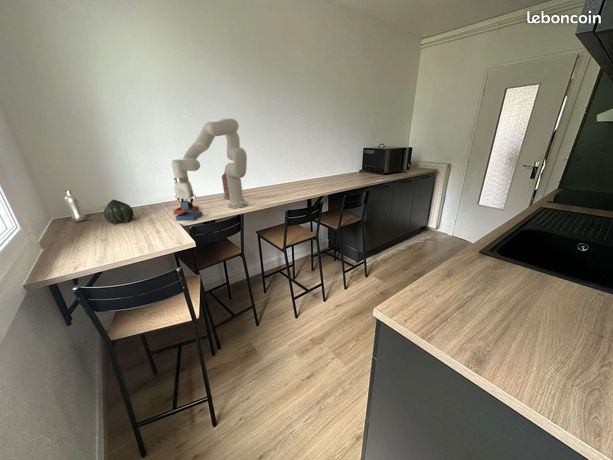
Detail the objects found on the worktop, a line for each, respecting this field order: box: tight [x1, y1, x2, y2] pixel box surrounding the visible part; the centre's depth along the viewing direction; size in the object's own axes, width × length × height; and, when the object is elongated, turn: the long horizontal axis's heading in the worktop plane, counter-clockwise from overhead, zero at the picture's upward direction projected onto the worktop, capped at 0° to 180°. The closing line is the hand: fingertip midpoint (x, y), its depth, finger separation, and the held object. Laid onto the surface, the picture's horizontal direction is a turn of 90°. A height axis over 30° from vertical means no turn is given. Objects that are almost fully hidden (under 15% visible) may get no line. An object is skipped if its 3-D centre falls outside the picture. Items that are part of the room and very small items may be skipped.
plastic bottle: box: [63, 189, 86, 223], centre depth 159 cm, size 6×7×20 cm
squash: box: [103, 199, 134, 225], centre depth 158 cm, size 14×15×15 cm
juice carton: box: [221, 170, 230, 201], centre depth 205 cm, size 7×7×22 cm
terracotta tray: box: [173, 205, 200, 215], centre depth 177 cm, size 12×11×2 cm
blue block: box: [180, 200, 190, 209], centre depth 163 cm, size 4×4×4 cm
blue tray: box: [175, 210, 204, 222], centre depth 166 cm, size 12×11×2 cm
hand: (187, 207), depth 164 cm, fingers closed on blue block, 4 cm apart
